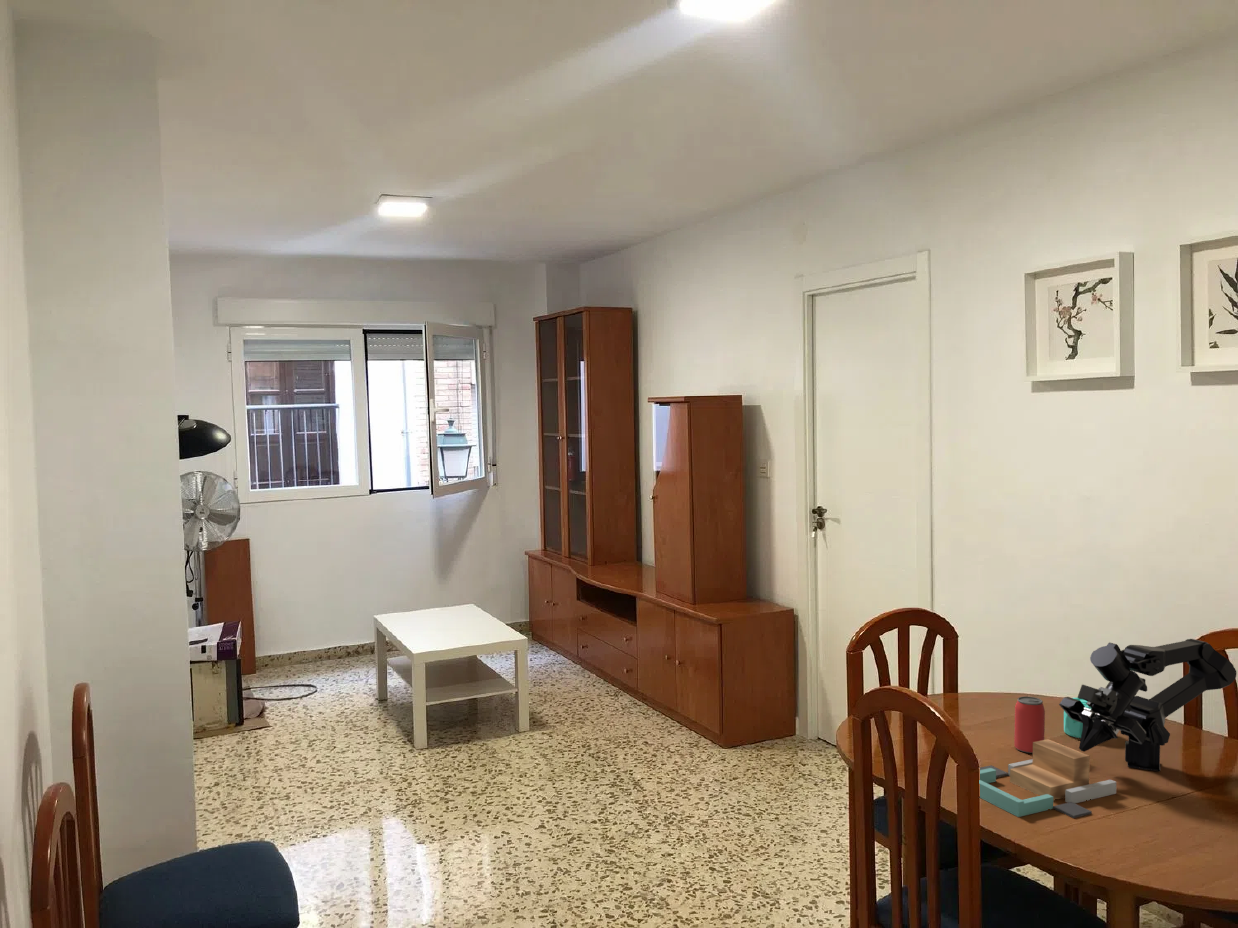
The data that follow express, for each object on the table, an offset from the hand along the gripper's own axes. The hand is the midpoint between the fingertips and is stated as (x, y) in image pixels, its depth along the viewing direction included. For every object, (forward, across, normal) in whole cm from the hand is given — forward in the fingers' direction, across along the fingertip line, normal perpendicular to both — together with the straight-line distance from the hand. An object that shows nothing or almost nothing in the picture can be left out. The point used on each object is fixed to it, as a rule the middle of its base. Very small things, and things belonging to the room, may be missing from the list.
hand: (1081, 749), depth 212 cm
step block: (+11, 0, -2) cm, 12 cm away
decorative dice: (-12, -21, +22) cm, 33 cm away
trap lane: (+14, 0, -5) cm, 15 cm away
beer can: (+2, -18, +8) cm, 20 cm away
